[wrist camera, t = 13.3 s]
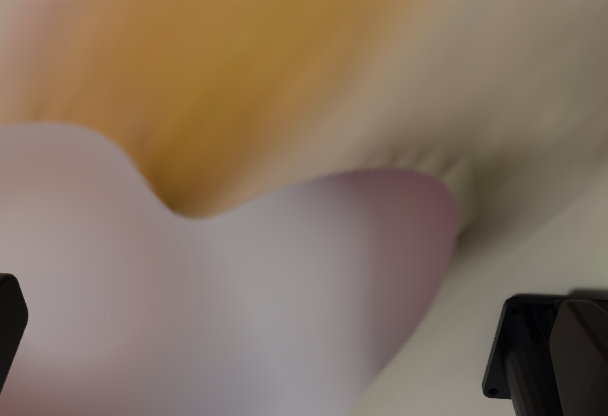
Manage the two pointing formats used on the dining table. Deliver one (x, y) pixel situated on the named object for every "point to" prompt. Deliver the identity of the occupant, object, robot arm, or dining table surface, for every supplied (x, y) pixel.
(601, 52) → the dining table surface
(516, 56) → the dining table surface
